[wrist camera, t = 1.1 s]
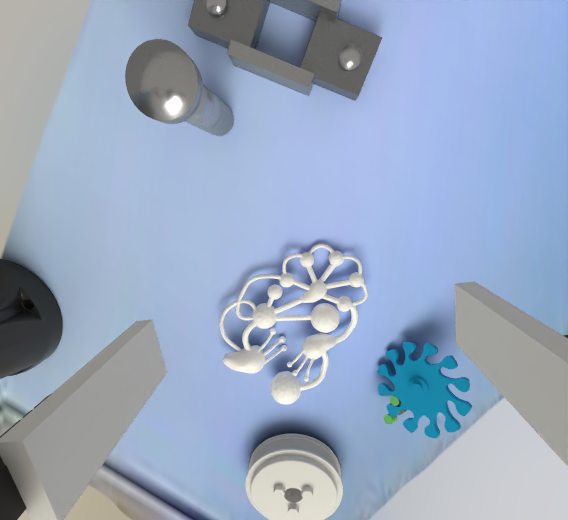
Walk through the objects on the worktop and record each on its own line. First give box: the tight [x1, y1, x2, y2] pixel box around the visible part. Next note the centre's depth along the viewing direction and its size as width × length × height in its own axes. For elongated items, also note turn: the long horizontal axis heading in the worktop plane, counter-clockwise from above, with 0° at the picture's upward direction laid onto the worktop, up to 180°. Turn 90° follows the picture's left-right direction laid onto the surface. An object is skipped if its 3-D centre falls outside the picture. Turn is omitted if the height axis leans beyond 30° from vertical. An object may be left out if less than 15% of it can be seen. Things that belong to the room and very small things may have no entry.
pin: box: [125, 39, 234, 136], centre depth 26 cm, size 5×5×13 cm
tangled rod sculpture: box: [219, 244, 368, 405], centre depth 36 cm, size 19×14×4 cm
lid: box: [246, 434, 343, 520], centre depth 41 cm, size 13×13×5 cm
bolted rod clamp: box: [188, 0, 382, 100], centre depth 28 cm, size 17×7×3 cm, turn 69°
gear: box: [377, 342, 472, 438], centre depth 36 cm, size 11×6×10 cm
